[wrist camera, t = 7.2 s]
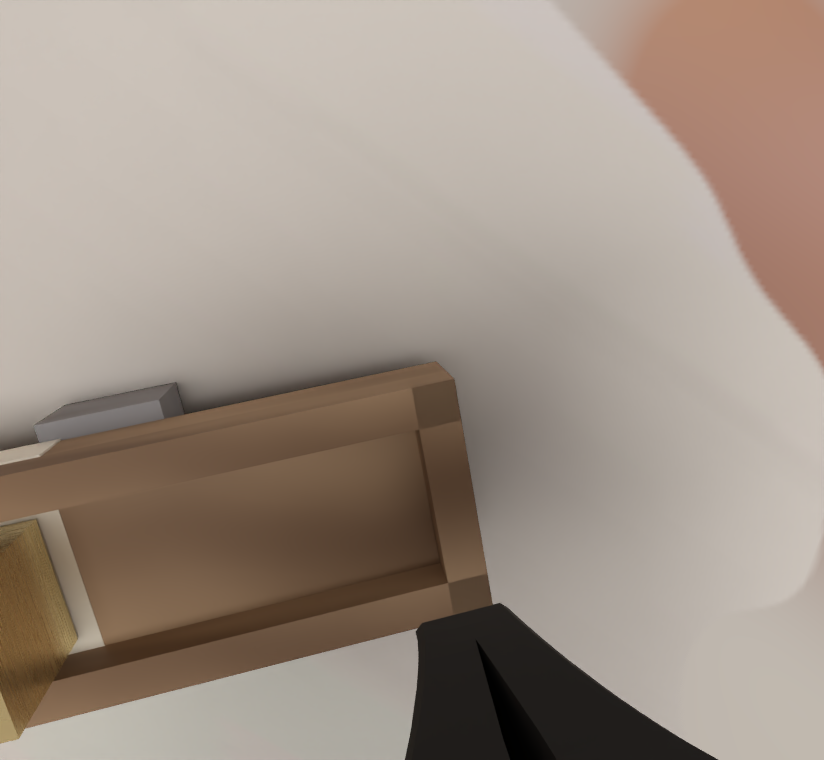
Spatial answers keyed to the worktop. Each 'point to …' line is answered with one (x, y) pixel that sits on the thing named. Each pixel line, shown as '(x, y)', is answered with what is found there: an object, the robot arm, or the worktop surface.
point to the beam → (246, 528)
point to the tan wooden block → (28, 626)
